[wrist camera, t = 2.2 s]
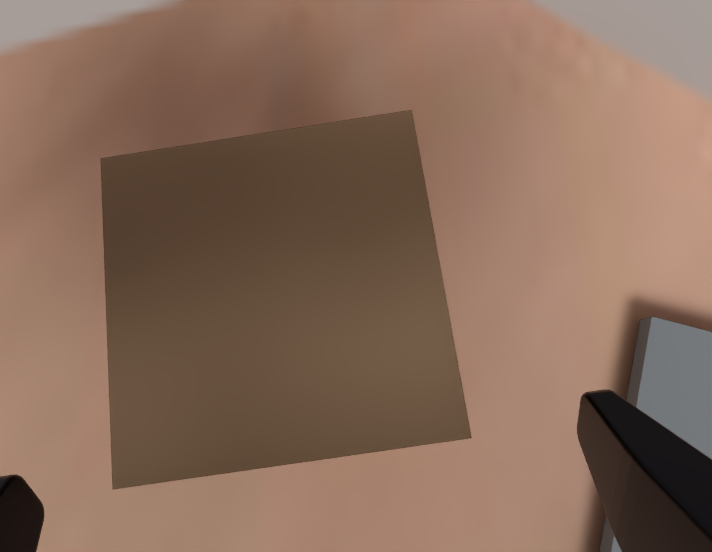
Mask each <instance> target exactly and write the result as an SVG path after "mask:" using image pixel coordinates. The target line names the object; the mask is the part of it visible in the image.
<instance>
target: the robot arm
mask: <svg viewBox="0 0 712 552" xmlns="http://www.w3.org/2000/svg"><path fill="white" fill-rule="evenodd" d="M577 434H578V439H579V443H580V445H581V448H582V451H583V454H584V456H585V459H586V462H587V464H588V467H589V470H590V472H591V475H592V478H593V481H594V483H595V486H596V489H597V491H598V494H599V497H600V499H601V502H602V505H603V508H604V510H605V513H606V516H607V518H608V521H609V524H610V526H611V529H612V531H613V534H614V536H615V538H616V541H617V543H618V545H619V547H620V549H621V551H622V552H712V459H711V458H709V457H708V456H706V455H705V454H703V453H702V452H701V451H699V450H698V449H696V448H695V447H693V446H692V445H690V444H689V443H688V442H686V441H685V440H683V439H682V438H680V437H679V436H677V435H676V434H674V433H673V432H672V431H670V430H669V429H667V428H666V427H664V426H663V425H661V424H660V423H659V422H657V421H656V420H654V419H653V418H651V417H650V416H648V415H647V414H646V413H644V412H643V411H641V410H640V409H638V408H637V407H635V406H634V405H632V404H631V403H630V402H628V401H627V400H625V399H624V398H622V397H621V396H619V395H618V394H617V393H615V392H613V391H611V390H598V391H591V392H586V393H584V394H583V395H582V397H581V401H580V409H579V416H578V423H577ZM43 521H44V507H43V504H42V502H41V501H40V500H39V498H38V497H37V496H36V494H35V493H34V492H33V490H32V489H31V488H30V487H29V485H28V484H27V483H26V481H25V480H24V479H23V478H22V477H21V476H19V475H7V476H0V552H36V550H37V546H38V542H39V538H40V533H41V529H42V525H43Z"/></svg>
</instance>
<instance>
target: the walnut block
mask: <svg viewBox="0 0 712 552" xmlns="http://www.w3.org/2000/svg"><path fill="white" fill-rule="evenodd" d="M101 181H102V209H103V237H104V264H105V292H106V320H107V347H108V375H109V403H110V430H111V458H112V486H113V489H119V488H126V487H133V486H140V485H147V484H154V483H161V482H168V481H175V480H182V479H189V478H196V477H203V476H210V475H217V474H224V473H231V472H238V471H245V470H252V469H259V468H266V467H273V466H280V465H287V464H294V463H301V462H308V461H315V460H322V459H329V458H336V457H343V456H350V455H357V454H364V453H371V452H378V451H385V450H392V449H399V448H406V447H413V446H420V445H427V444H434V443H441V442H448V441H455V440H462V439H469V438H471V432H470V427H469V421H468V416H467V410H466V405H465V399H464V394H463V388H462V383H461V377H460V372H459V366H458V361H457V355H456V350H455V344H454V339H453V333H452V328H451V322H450V317H449V312H448V306H447V301H446V295H445V290H444V284H443V279H442V273H441V268H440V262H439V257H438V251H437V246H436V240H435V235H434V229H433V224H432V218H431V213H430V207H429V202H428V197H427V191H426V186H425V180H424V175H423V169H422V164H421V158H420V153H419V147H418V142H417V136H416V131H415V125H414V120H413V114H412V110H408V111H402V112H395V113H389V114H382V115H376V116H369V117H363V118H357V119H350V120H344V121H337V122H331V123H325V124H318V125H312V126H305V127H299V128H293V129H286V130H280V131H273V132H267V133H261V134H254V135H248V136H241V137H235V138H228V139H222V140H216V141H209V142H203V143H196V144H190V145H184V146H177V147H171V148H164V149H158V150H152V151H145V152H139V153H132V154H126V155H119V156H113V157H107V158H101Z"/></svg>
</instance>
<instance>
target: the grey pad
mask: <svg viewBox="0 0 712 552" xmlns="http://www.w3.org/2000/svg"><path fill="white" fill-rule="evenodd" d="M626 400H627V401H628V402H630V403H631V404H632V405H634V406H635V407H637V408H638V409H640V410H641V411H643V412H644V413H646V414H647V415H648V416H650V417H651V418H653V419H654V420H656V421H657V422H659V423H660V424H661V425H663V426H664V427H666V428H667V429H669V430H670V431H672V432H673V433H674V434H676V435H677V436H679V437H680V438H682V439H683V440H685V441H686V442H688V443H689V444H690V445H692V446H693V447H695V448H696V449H698V450H699V451H701V452H702V453H703V454H705V455H706V456H708V457H709V458H711V459H712V332H710V331H706V330H702V329H698V328H694V327H690V326H687V325H683V324H679V323H675V322H671V321H667V320H663V319H660V318H656V317H648V318H645V319H642V320H640V325H639V331H638V337H637V342H636V348H635V353H634V359H633V365H632V370H631V376H630V382H629V387H628V393H627V399H626ZM599 552H622V551H621V549H620V547H619V545H618V543H617V541H616V538H615V536H614V534H613V531H612V529H611V526H610V524H609V521H608V518H607V516H606V517H605V523H604V528H603V534H602V540H601V545H600V551H599Z"/></svg>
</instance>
